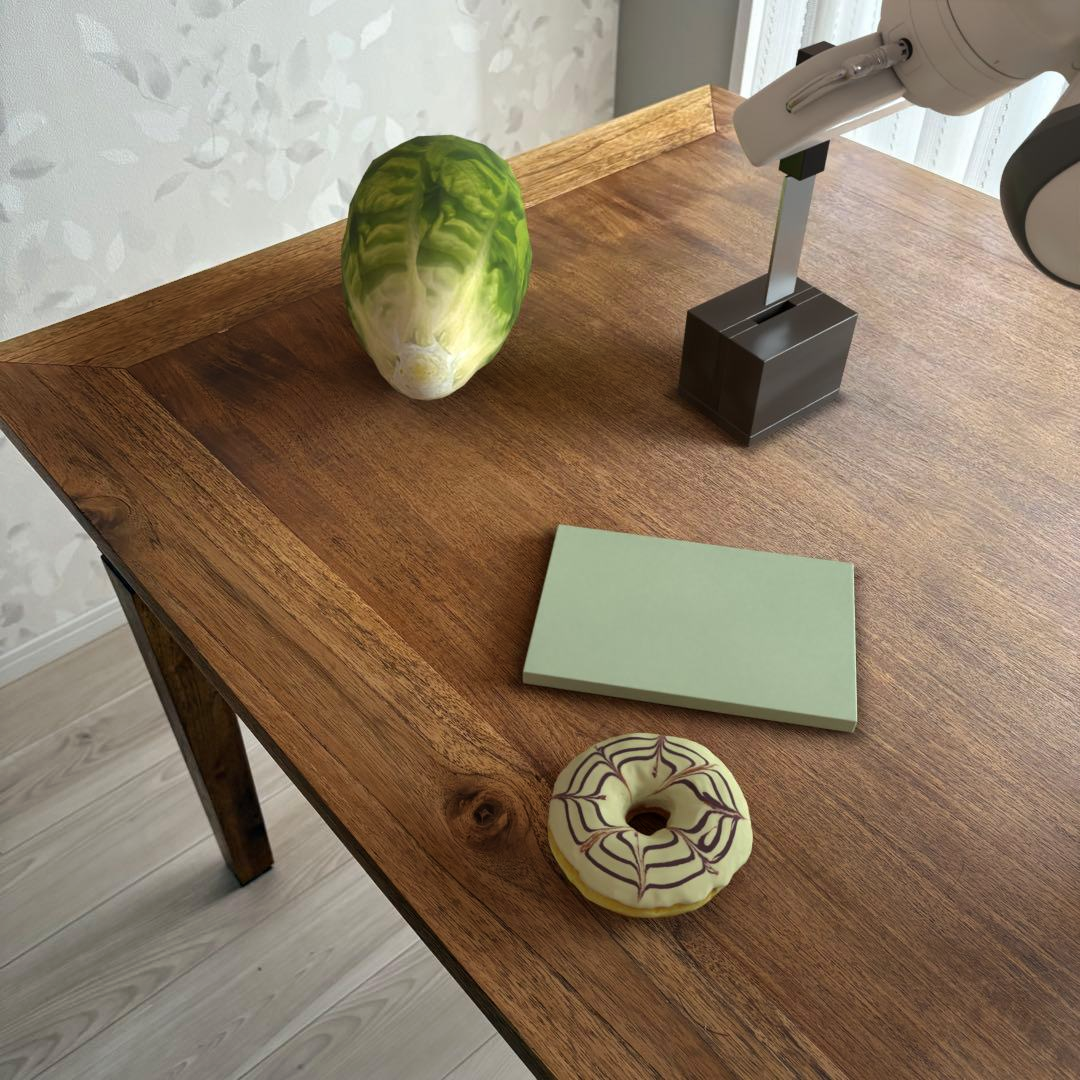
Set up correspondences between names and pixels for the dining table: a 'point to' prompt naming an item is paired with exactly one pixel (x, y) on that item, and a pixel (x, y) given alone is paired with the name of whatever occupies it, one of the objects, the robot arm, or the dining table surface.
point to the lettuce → (435, 262)
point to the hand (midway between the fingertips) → (800, 133)
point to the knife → (794, 206)
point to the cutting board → (697, 627)
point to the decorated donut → (669, 854)
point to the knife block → (764, 357)
